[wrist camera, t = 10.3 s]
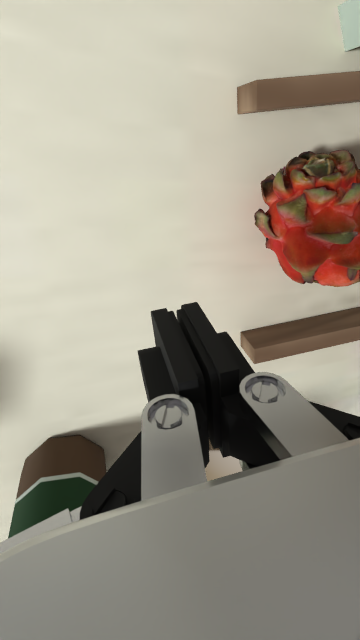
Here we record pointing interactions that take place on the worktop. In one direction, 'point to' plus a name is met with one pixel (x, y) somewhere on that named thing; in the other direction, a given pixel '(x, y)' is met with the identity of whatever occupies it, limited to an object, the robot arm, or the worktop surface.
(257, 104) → the bay
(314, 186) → the dragon fruit
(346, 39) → the t block
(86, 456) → the beer bottle
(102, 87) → the worktop surface
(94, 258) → the worktop surface
